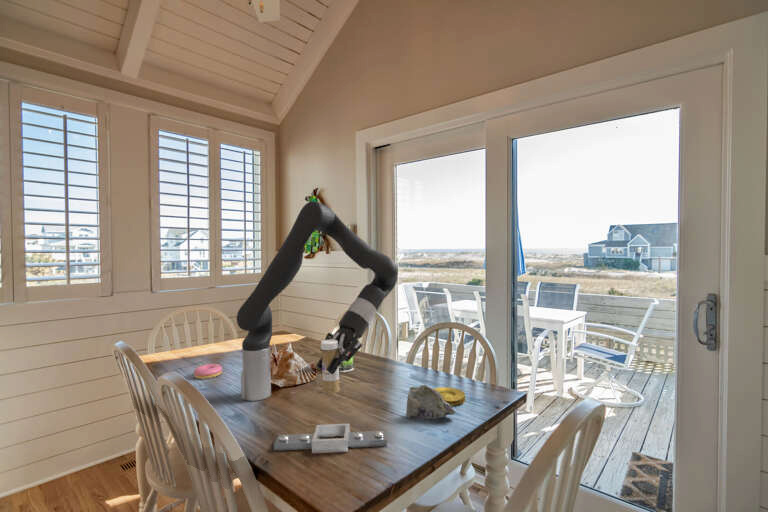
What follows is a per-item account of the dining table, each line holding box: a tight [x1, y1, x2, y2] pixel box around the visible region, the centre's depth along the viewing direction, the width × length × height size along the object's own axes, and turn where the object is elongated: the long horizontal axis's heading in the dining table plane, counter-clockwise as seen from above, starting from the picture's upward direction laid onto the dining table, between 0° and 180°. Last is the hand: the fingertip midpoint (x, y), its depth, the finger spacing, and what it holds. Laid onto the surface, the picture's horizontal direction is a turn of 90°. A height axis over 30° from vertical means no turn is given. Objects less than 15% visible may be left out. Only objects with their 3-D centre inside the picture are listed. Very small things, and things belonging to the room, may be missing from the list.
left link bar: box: [273, 432, 315, 452], centre depth 98 cm, size 10×5×2 cm, turn 92°
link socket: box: [311, 423, 351, 454], centre depth 98 cm, size 9×9×3 cm
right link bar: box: [348, 430, 388, 448], centre depth 99 cm, size 10×5×2 cm, turn 92°
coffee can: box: [339, 351, 355, 373], centre depth 161 cm, size 10×10×14 cm
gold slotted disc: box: [432, 386, 466, 406], centre depth 126 cm, size 12×12×2 cm
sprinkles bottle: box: [320, 339, 341, 395], centre depth 99 cm, size 5×5×13 cm
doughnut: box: [193, 363, 223, 380], centre depth 156 cm, size 11×11×4 cm
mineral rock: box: [405, 384, 456, 420], centre depth 112 cm, size 13×11×10 cm
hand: (324, 370), depth 98 cm, fingers closed on sprinkles bottle, 4 cm apart
